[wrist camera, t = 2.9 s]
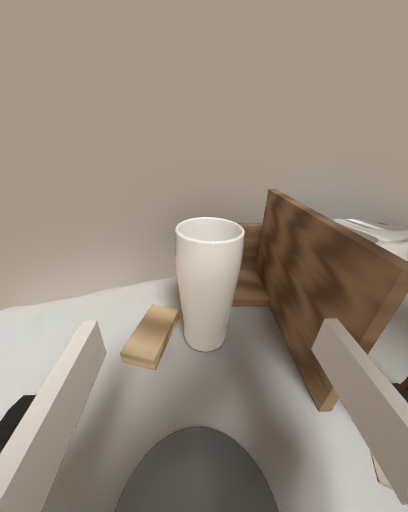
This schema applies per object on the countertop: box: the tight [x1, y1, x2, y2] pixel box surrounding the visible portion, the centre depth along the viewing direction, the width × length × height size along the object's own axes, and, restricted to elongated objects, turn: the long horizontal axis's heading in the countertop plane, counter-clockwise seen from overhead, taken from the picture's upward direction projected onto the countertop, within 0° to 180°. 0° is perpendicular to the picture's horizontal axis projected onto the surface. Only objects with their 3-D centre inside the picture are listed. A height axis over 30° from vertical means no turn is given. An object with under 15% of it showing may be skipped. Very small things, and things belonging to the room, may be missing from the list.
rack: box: [232, 189, 408, 411], centre depth 26 cm, size 24×15×16 cm, turn 3°
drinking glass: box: [175, 217, 245, 352], centre depth 23 cm, size 7×7×15 cm
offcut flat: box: [120, 304, 179, 370], centre depth 26 cm, size 8×4×2 cm, turn 167°
